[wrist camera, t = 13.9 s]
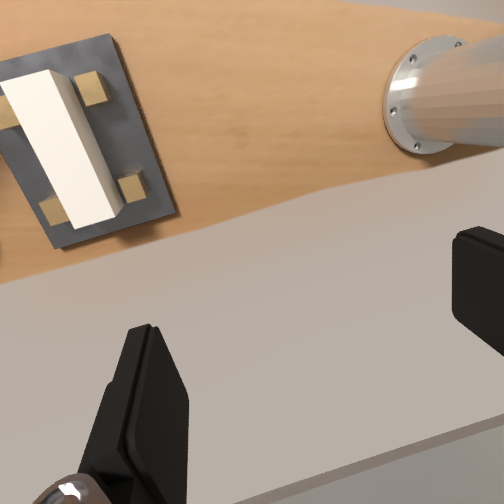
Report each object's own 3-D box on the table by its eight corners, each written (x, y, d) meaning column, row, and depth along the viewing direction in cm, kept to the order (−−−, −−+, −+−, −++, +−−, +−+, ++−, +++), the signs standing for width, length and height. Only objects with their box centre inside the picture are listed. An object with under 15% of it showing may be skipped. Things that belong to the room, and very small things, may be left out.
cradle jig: (111, 35, 32) (103, 26, 28) (175, 210, 39) (174, 218, 36) (-37, 74, 31) (-63, 68, 27) (57, 246, 38) (46, 257, 35)
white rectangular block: (68, 76, 31) (48, 69, 27) (124, 205, 37) (115, 216, 32) (26, 88, 31) (-1, 82, 26) (88, 215, 36) (74, 229, 32)
